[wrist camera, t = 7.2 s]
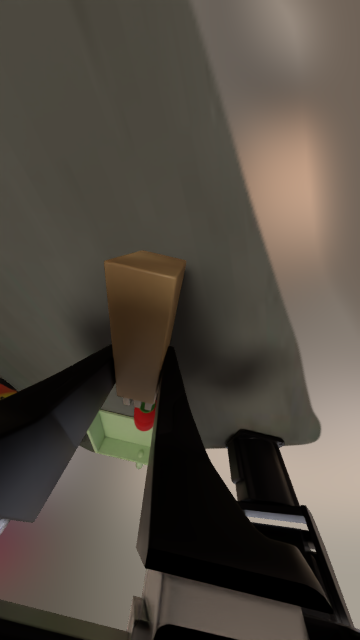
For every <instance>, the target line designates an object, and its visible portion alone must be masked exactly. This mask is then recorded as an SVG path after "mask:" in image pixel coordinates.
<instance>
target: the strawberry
mask: <svg viewBox="0 0 360 640" xmlns="http://www.w3.org/2000/svg"><path fill="white" fill-rule="evenodd" d="M156 403H157V401H156V400H155V404H153V405H152V408H151V411H149V410H145V402H142V404H141V407H140V408H137V407H135V409H134V423H135V426H136V428H137V429H138V430H140V431H148V430H150V429H151V428H152V427H153V425H154V418H155V409H156Z"/></svg>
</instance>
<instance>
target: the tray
mask: <svg viewBox="0 0 360 640" xmlns="http://www.w3.org/2000/svg"><path fill="white" fill-rule="evenodd" d="M152 432H153V427H152V428H151V429H150V430H148V431H140V430H138V429H137V428H136V426H135V423H134V417H130V416H126V415H122V414H117V413H113V412H109V411H105V410H101V409H100V410H99V412H98V413H97V415H96V417H95V419H94V420H93V422H92V424H91V425H90V427H89V429H88V431H87V434H88V436H89V438H90V441H91V443H92V445H93V448H94V450H95V452H96V453H99V454H103V455H108V456H111V457H116V458H120V459H124V460H128V461H133V462H136V467H137V468H138V469H141V468H142V466H143V464H145V465H148V460H149V453H150V446H151V439H152ZM105 436H106V437H105ZM109 437H110V438H109ZM113 438H114V439H113ZM126 441H127V442H126ZM130 442H131V443H130ZM134 443H135V444H134ZM138 444H139V445H138Z"/></svg>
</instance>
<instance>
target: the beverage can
mask: <svg viewBox="0 0 360 640" xmlns="http://www.w3.org/2000/svg"><path fill="white" fill-rule="evenodd" d="M15 393H17V391H16V390H15V389H14V388H13V387H12V386H11V385H10V384H8V383H7V382H5V381H4V380H2V379H1V378H0V400H1V399H4V398H6V397H8V396H10V395H12V394H15Z"/></svg>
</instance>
